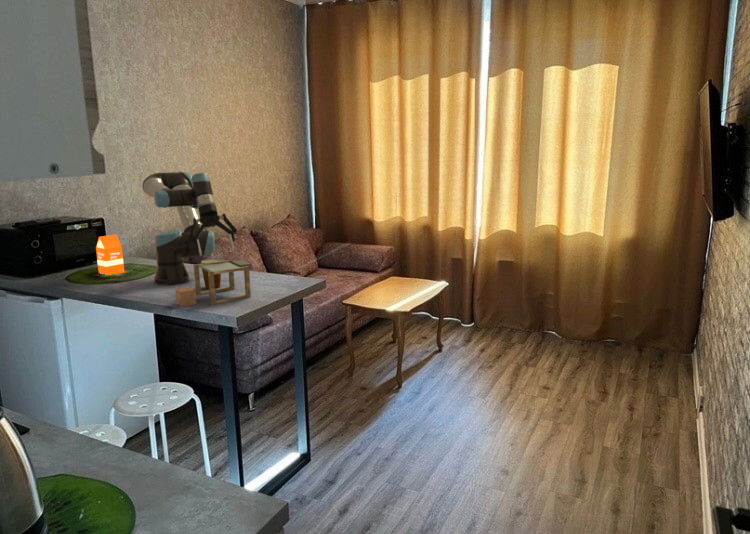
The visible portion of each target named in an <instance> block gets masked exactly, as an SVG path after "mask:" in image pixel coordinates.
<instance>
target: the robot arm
mask: <svg viewBox="0 0 750 534" xmlns="http://www.w3.org/2000/svg"><path fill="white" fill-rule="evenodd" d="M141 187H142V191H143V192H144V193H145V195H147V196H149V197H151V198H154V204H155V207H157V208H164V209H166V208H175V207H176V210H177V212H178V216H179V218H180V221H181V223H182V224H181V225H182V227H183V231H182V230H180V229H172V230H167V231H161V232H158V233H157V234H156V235H155V237H154V246H155V255H156V270H155V275H154V283H155V284H156V283H158V284H157V285H160V284H172V285H180V284H184V283H188V281H189V280H190V276H189V272H188V270H187V269H186V266H185V261H184V260H185V259H184V258H192V257H201V256H202V257H205V256H209V255H212V254H213V253H214V252H215V245H216V244H215V243H216V241H215V232H214V231H213V230H210V229H209V228H211V227H212V228H214V227H216V226H217V228H220V229H221V230H223V231H224V232H225V233H227V234H228V238H229V242H230V247H231V250H232V251H234V250H235V245H234V242H236V238H235V234H237V233H238V229H237V227H236V226H235V225H234V224H233V223H232V222H231V221H230V220H229V219H228V217H227V215H226V213H222V214H220V215H219V214H218V209H217V206H216V201H215V196H214V192H213V188H212V184H211V180H210V177H209V174H207V173H205V172H198V173H195V174H193V175H191V174H190V173H189V172H187V171H184V172H183V171H177V172H173V171H172V172H157V173H156V172H155V173H152V174H150V175H148V176H147V177H145V179H144V180H143V181H142V186H141ZM220 220H222V221H223V222H224V223H225V224H226V225H225V224H223V223H222V222H221V221H220ZM208 229H209V230H208Z"/></svg>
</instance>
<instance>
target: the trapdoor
mask: <svg viewBox="0 0 750 534" xmlns="http://www.w3.org/2000/svg"><path fill="white" fill-rule="evenodd" d="M245 266H248V267H249V271H251V270H253V263H251V262H249V261H246V260H243V259H239V260H233V261H231V263H230V262H227V263H220V264H212V265H205V266H201V267H200V268H201V270H202V269H204V270H206V271H208V272H210V271H218V270H225V269H232V268H240V267H245ZM242 271H243V272H244V270H242ZM242 271H241V272H242Z"/></svg>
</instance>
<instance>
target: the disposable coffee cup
mask: <svg viewBox="0 0 750 534" xmlns="http://www.w3.org/2000/svg"><path fill="white" fill-rule="evenodd" d="M219 261H222V260H221V259H217V258H210V259H203V260H201V261H200V264H204V263H212V262H219ZM201 272H202V276H203V282H204V286H205V289H207V290H209V277H208V271H206V270H204V269H202V268H201ZM221 277H222V273H221V274H214V286H215V289H220V288H221V279H222V278H221Z"/></svg>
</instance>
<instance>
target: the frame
mask: <svg viewBox="0 0 750 534" xmlns="http://www.w3.org/2000/svg"><path fill="white" fill-rule="evenodd" d="M231 261H234V260H233V259H227V260H221V261H219V262H212V263H204V264H201V263H196V264H193V275H194V285H195V288H194V289H195V291H196V296H202V294H203V295H207V294H209V302H210V303H209V304H211V305H214V304H215V305H216V304H220V303H227V302H231V301H238V300H237V299H239V300H243V299H244V298H245V299H250V298H252V296H251V295H252V293H251V292H252V291H251V278H250V277H251V275H250V270H249V267H248V266H245V267H240V268H232V269H225V270H218V271H210V272H208V277H209V289H207V290H202V289H201V277H200V268H201V266H205V265H212V264H220V263H227V262H230V263H231ZM242 270H243V273H244V274H243V276H244V292H245V293H244V294H243V295H236V296H233V297H232V296H231V297H225V298H220V299H216V293H220V292H225V291H231V290H235V287H236V286H235V276H234V275H235V274H234V272H242ZM227 273H228V282H229V283H228V284H229V286H227V287H219V288H216V289H215V286H214V274H221V275H222V274H227ZM249 297H250V298H249Z"/></svg>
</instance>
